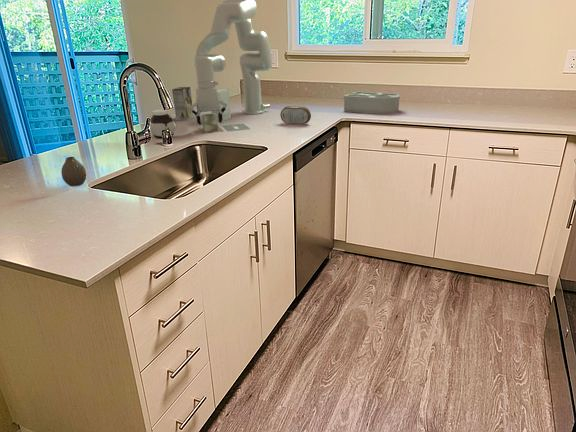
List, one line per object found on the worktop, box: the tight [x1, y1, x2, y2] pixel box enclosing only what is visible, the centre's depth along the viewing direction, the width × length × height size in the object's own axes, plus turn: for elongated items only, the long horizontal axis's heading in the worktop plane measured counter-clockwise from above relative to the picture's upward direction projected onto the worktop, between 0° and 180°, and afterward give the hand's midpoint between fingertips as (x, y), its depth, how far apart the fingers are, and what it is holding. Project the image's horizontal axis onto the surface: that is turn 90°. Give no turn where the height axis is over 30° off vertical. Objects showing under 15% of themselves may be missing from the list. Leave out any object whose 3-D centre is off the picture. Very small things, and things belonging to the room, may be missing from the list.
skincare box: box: [210, 88, 232, 122], centre depth 223 cm, size 8×7×16 cm
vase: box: [61, 156, 87, 187], centre depth 137 cm, size 7×7×9 cm
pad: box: [197, 125, 225, 134], centre depth 204 cm, size 10×12×1 cm
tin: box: [280, 105, 312, 126], centre depth 212 cm, size 15×3×8 cm, turn 71°
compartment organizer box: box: [343, 91, 401, 115], centre depth 238 cm, size 17×28×9 cm, turn 59°
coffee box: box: [172, 86, 195, 122], centre depth 230 cm, size 9×6×16 cm
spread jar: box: [149, 109, 177, 140], centre depth 196 cm, size 12×11×12 cm
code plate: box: [221, 123, 251, 132], centre depth 208 cm, size 11×14×1 cm
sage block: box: [201, 112, 219, 132], centre depth 203 cm, size 6×6×7 cm
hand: (210, 123), depth 203 cm, fingers open, 9 cm apart
